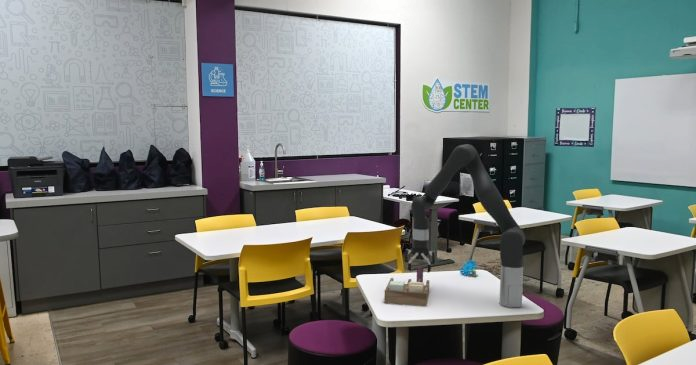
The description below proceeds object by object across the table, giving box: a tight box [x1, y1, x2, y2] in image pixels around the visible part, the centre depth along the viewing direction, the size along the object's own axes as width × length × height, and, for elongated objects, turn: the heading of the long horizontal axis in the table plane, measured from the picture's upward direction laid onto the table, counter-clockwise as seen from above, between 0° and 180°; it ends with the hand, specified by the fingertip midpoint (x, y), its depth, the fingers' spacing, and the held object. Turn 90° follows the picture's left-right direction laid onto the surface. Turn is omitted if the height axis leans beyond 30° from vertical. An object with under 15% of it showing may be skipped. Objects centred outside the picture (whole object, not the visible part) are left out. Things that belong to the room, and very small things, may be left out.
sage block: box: [389, 280, 406, 291], centre depth 237 cm, size 6×6×5 cm
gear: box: [459, 259, 478, 277], centre depth 284 cm, size 11×6×10 cm
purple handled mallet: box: [409, 266, 425, 293], centre depth 246 cm, size 27×6×9 cm, turn 168°
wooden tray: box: [383, 277, 430, 307], centre depth 243 cm, size 22×18×6 cm
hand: (419, 271), depth 257 cm, fingers open, 8 cm apart
